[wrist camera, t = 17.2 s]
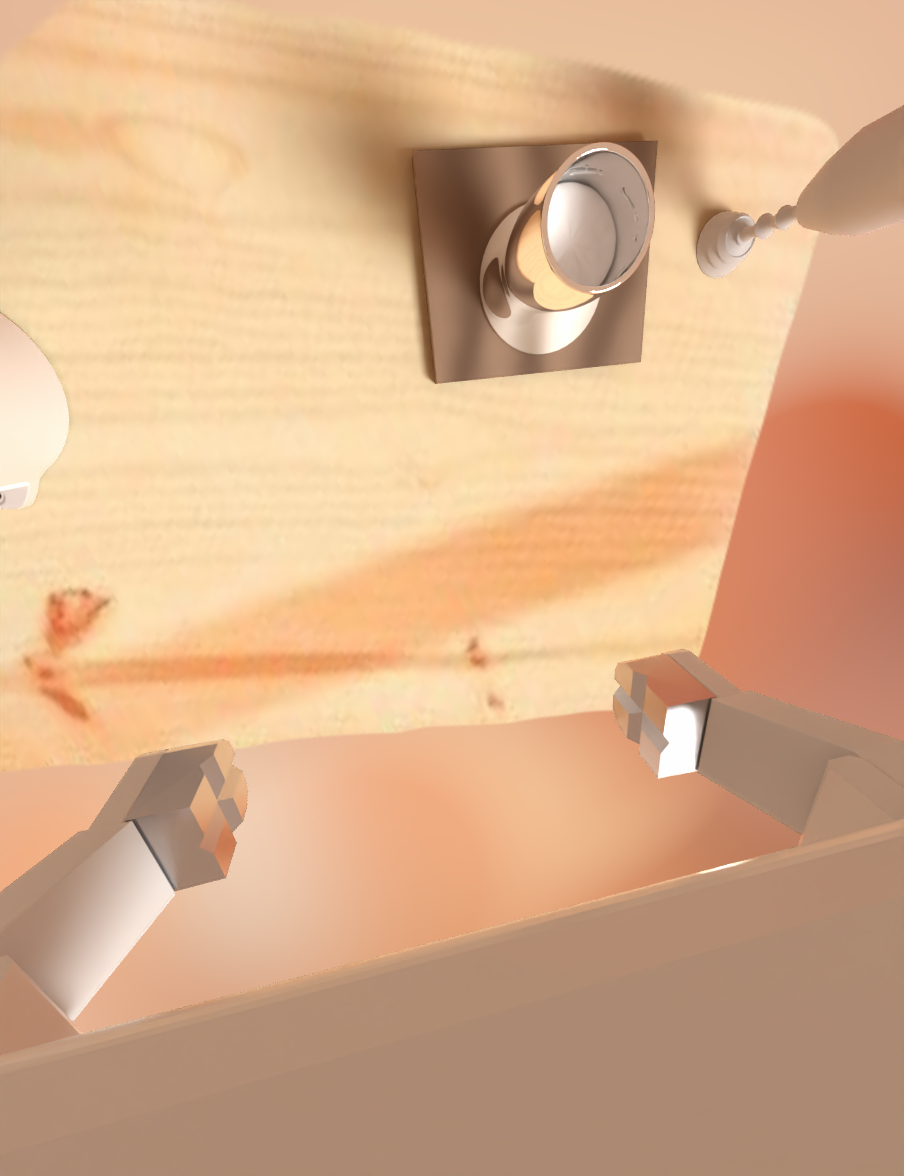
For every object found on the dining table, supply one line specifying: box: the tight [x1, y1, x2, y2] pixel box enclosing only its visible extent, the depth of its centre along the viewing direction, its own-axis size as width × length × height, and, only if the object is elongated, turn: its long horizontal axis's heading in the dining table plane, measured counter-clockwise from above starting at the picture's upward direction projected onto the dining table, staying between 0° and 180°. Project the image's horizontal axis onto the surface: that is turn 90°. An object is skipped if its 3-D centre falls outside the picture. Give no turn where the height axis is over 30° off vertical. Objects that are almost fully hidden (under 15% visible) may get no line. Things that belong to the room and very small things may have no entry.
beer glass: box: [482, 142, 655, 327], centre depth 30 cm, size 7×7×15 cm
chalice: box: [696, 105, 904, 278], centre depth 32 cm, size 7×7×18 cm
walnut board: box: [412, 141, 658, 384], centre depth 37 cm, size 20×16×2 cm
